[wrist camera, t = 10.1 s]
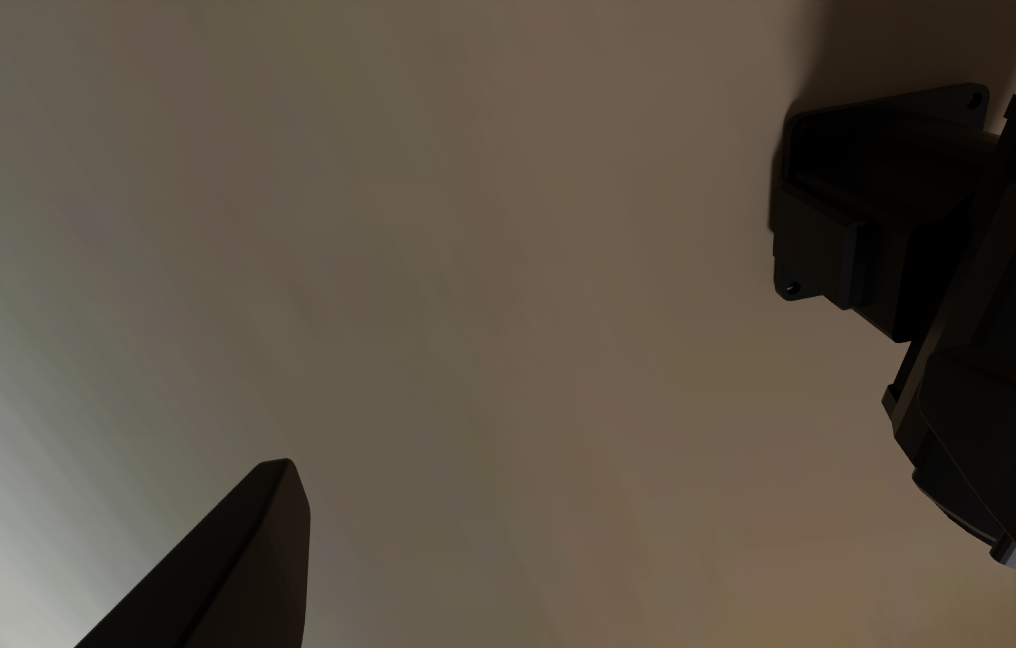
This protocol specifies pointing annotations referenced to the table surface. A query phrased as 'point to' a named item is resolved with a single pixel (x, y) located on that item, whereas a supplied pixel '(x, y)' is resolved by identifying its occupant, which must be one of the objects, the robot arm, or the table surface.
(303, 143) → the table surface
